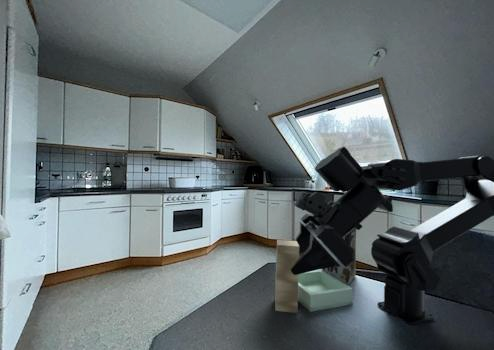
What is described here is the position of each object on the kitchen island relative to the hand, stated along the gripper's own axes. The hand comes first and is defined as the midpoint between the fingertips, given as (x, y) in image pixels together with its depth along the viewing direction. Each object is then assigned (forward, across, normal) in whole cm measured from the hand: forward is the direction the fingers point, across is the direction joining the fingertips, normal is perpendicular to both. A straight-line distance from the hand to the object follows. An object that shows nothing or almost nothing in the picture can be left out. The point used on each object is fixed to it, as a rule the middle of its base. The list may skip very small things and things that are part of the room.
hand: (289, 263), depth 42 cm
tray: (+1, -6, +10) cm, 12 cm away
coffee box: (-4, -16, +16) cm, 23 cm away
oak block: (+6, 0, +6) cm, 8 cm away
